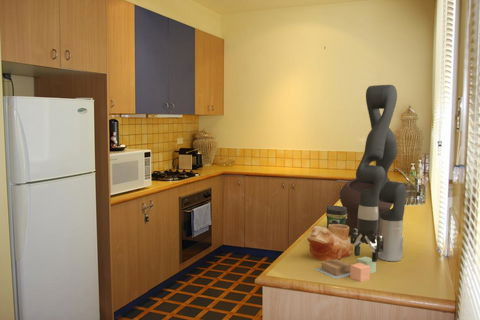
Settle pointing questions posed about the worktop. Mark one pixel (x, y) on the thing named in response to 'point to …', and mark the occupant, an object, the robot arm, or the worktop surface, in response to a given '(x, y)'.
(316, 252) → the ceramic vessel
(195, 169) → the worktop surface
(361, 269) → the terracotta block
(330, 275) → the board
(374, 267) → the sage block
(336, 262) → the walnut base
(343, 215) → the coffee jar
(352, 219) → the vase
